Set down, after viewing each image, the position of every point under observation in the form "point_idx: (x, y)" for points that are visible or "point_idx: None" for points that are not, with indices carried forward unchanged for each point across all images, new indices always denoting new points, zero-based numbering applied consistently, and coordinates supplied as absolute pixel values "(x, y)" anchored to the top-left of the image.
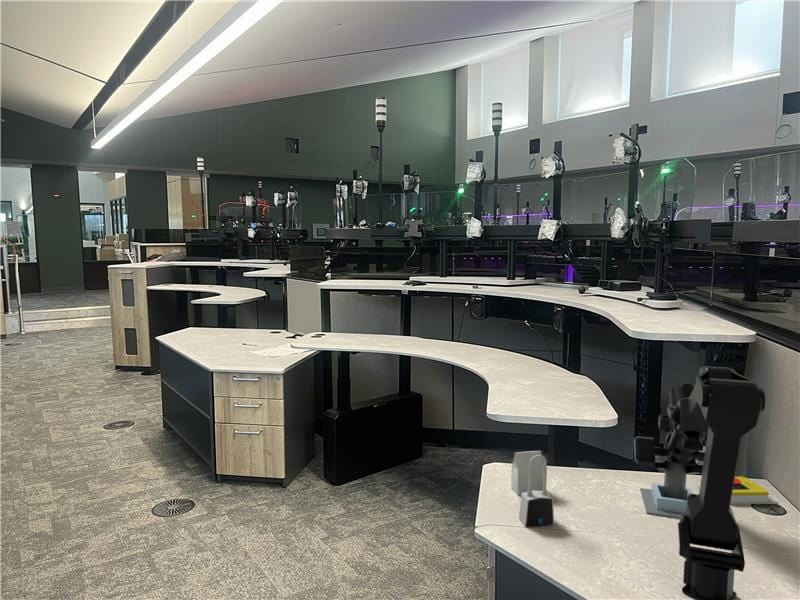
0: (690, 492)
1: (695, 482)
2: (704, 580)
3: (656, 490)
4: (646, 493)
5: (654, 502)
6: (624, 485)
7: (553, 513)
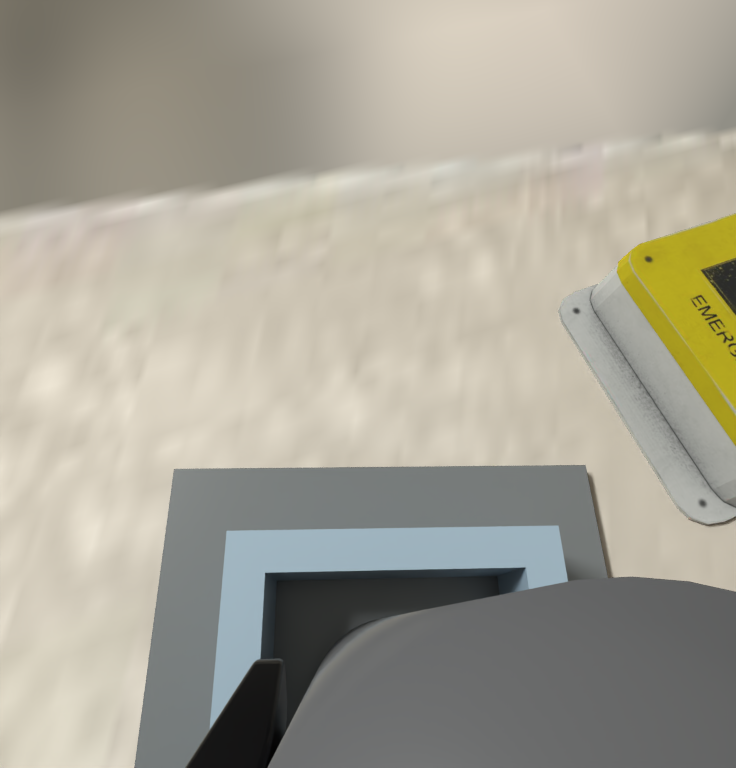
0: None
1: (559, 240)
2: None
3: None
4: (200, 564)
5: None
6: (73, 433)
7: None
